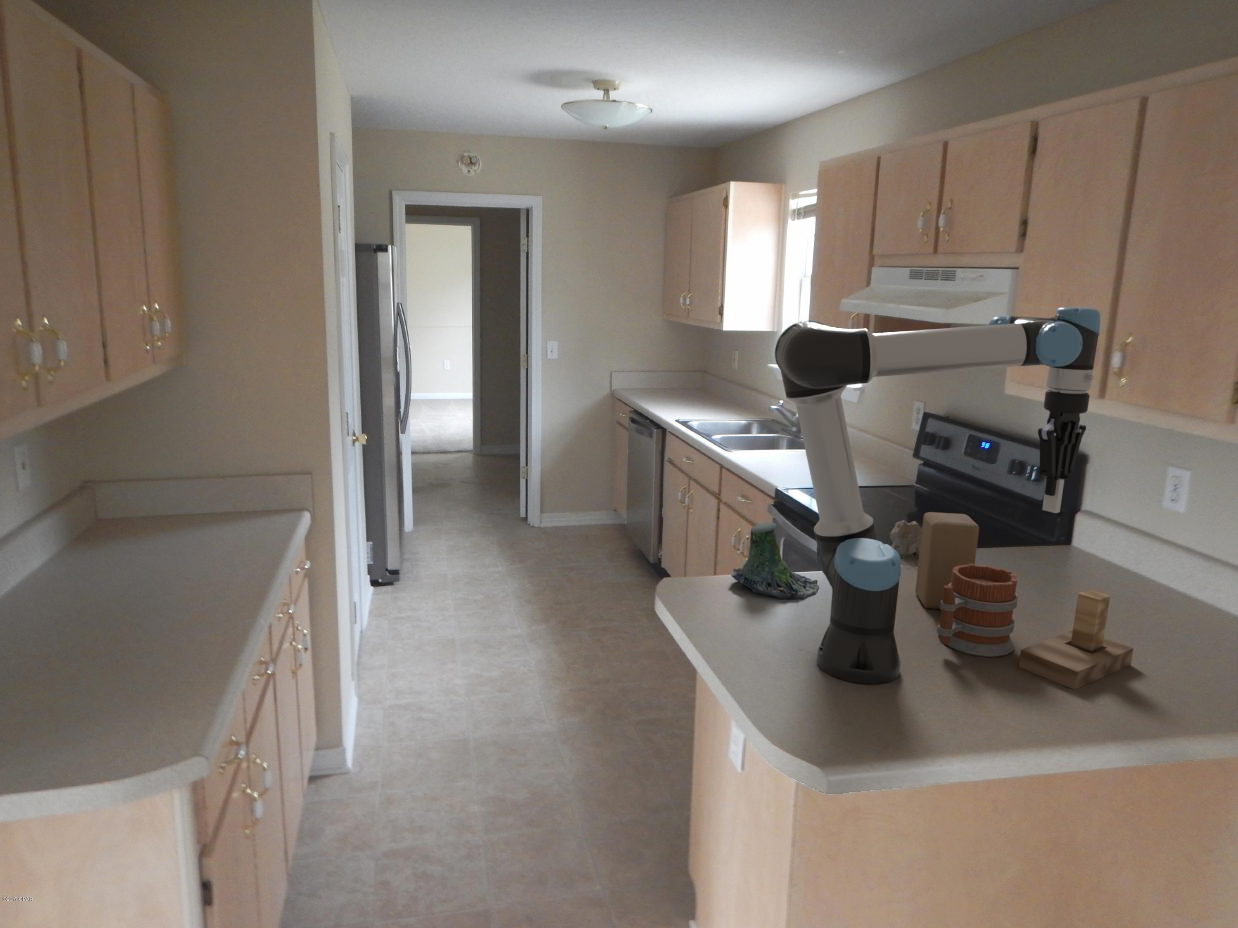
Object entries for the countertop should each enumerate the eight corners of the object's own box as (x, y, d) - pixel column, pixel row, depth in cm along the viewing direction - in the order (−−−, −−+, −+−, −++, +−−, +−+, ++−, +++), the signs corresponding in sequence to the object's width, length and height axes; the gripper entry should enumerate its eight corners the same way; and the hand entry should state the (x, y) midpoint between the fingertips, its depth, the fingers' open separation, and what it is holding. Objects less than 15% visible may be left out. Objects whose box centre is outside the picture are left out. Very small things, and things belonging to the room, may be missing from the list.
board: (1074, 689, 161) (1077, 671, 160) (1018, 666, 170) (1020, 649, 169) (1130, 664, 172) (1133, 648, 171) (1075, 644, 181) (1077, 628, 180)
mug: (1028, 648, 178) (1037, 577, 175) (969, 669, 168) (978, 594, 164) (967, 624, 190) (975, 557, 186) (908, 643, 179) (915, 572, 176)
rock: (931, 571, 232) (943, 538, 235) (915, 550, 225) (926, 516, 228) (899, 566, 238) (910, 534, 242) (882, 545, 231) (894, 512, 235)
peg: (1088, 668, 170) (1099, 599, 167) (1067, 660, 173) (1078, 593, 170) (1099, 664, 172) (1110, 595, 169) (1079, 656, 175) (1089, 589, 172)
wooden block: (958, 596, 206) (968, 513, 202) (970, 612, 197) (981, 525, 192) (913, 593, 207) (922, 510, 203) (923, 609, 198) (933, 522, 193)
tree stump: (833, 601, 202) (823, 529, 197) (750, 624, 200) (737, 552, 195) (803, 570, 220) (793, 503, 214) (726, 591, 217) (714, 524, 212)
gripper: (1068, 395, 161) (1050, 520, 166) (1105, 391, 168) (1087, 511, 174) (1029, 389, 167) (1013, 510, 172) (1067, 386, 174) (1051, 502, 180)
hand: (1050, 510), depth 173 cm, fingers closed
